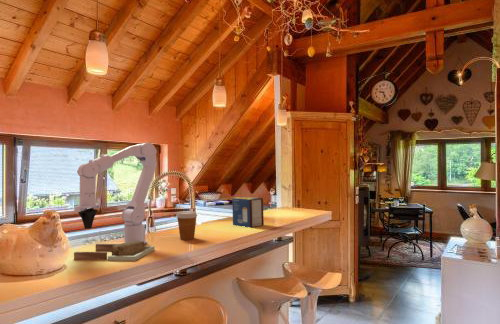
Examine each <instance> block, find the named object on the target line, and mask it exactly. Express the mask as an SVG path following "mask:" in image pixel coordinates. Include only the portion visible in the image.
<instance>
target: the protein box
mask: <svg viewBox="0 0 500 324" xmlns="http://www.w3.org/2000/svg"><path fill="white" fill-rule="evenodd" d="M231 198H232V199H231V201H232V225H233V226H237V225H238V227H242V226H245V227H244V228H248V227H251V228H256V227H255V226H257V227H262V226H261V225H265V223H264V219H265V217H264V198H263V197H253V196H239V197H231Z"/></svg>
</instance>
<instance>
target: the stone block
mask: <svg viewBox="0 0 500 324" xmlns="http://www.w3.org/2000/svg"><path fill="white" fill-rule="evenodd" d="M116 244H117V245H113V246H112V251H111V256H134V255H136V254H138V253H140V252H141V251H143V250H144V249H145V246H146V243H145V244H144V242H143V241H133V242H127V243H125V242H123V243H122V242H121V243H116Z"/></svg>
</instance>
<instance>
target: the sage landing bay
mask: <svg viewBox="0 0 500 324" xmlns="http://www.w3.org/2000/svg"><path fill="white" fill-rule="evenodd" d="M155 247H156V246H155V245H145V249H144V250H143V251H141V252H140V253H138V254H136V255H134V256H112V255H107V261H111V262H116V261H117V262H122V261H123V262H136V261H138V260H139V259H141V258H143V257H144V256H146V255H148V254H151V252H153V251H155Z"/></svg>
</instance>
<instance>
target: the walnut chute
mask: <svg viewBox="0 0 500 324" xmlns="http://www.w3.org/2000/svg"><path fill="white" fill-rule="evenodd" d="M117 244H118V243H96V244H95V251H74V252H73V260H77V261H78V260H79V261H80V260H84V261H85V260H92V261H93V260H94V261H95V260H97V261H99V260H100V261H106V260H108V252H110V251H111V252H112V246H113V245H117ZM107 251H108V252H107Z"/></svg>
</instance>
